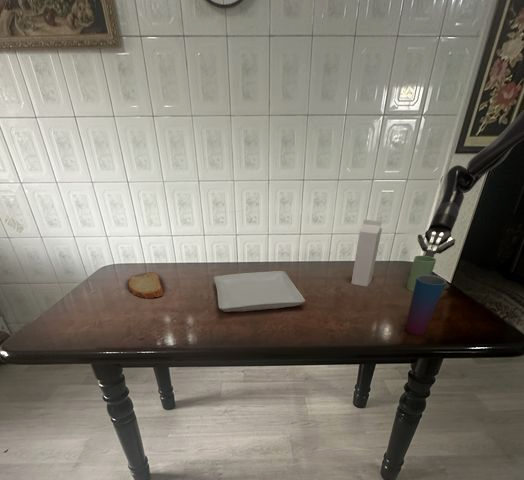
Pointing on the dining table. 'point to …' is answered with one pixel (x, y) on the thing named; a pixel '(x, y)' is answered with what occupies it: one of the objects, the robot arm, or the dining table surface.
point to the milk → (366, 252)
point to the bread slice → (146, 285)
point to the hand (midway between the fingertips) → (427, 261)
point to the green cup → (420, 269)
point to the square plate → (256, 291)
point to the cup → (424, 302)
